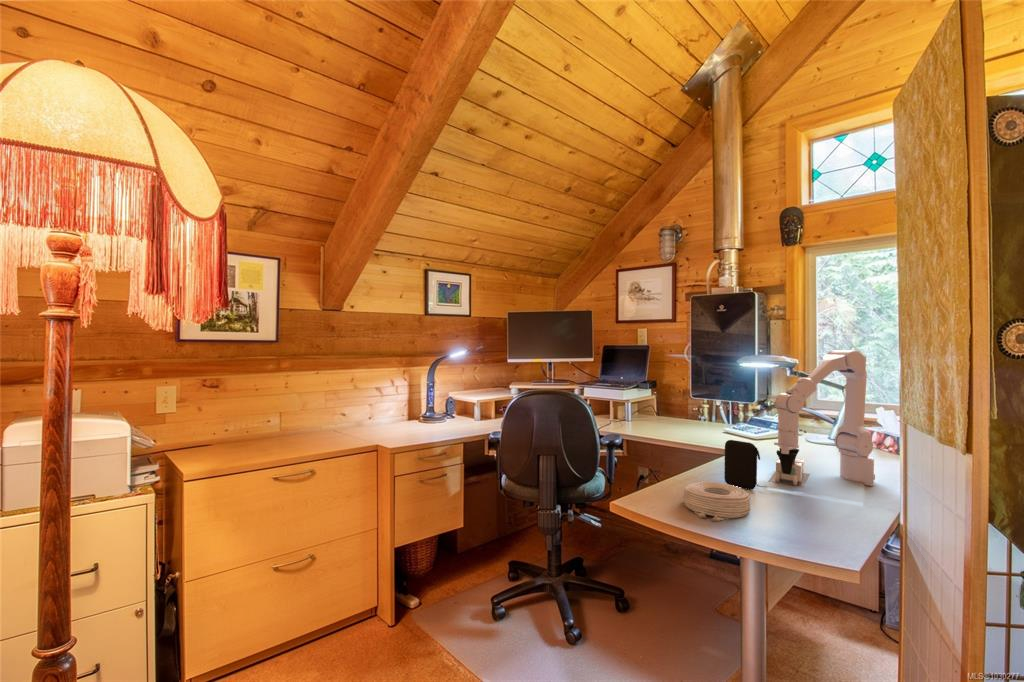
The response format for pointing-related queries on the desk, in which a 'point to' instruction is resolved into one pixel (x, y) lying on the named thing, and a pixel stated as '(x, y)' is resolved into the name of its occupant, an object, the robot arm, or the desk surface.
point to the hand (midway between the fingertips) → (787, 472)
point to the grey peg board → (793, 482)
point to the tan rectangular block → (802, 465)
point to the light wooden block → (795, 471)
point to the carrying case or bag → (741, 464)
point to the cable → (716, 500)
